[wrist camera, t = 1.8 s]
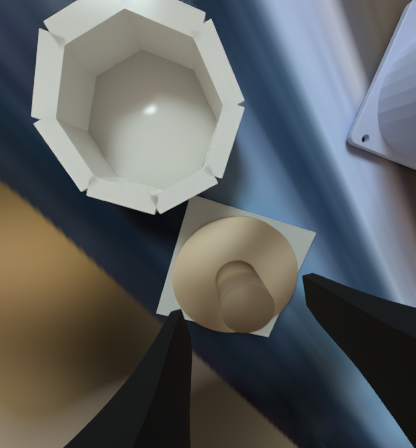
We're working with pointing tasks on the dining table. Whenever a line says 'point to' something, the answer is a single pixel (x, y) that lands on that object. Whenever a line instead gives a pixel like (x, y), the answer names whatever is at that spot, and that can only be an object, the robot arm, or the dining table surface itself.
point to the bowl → (136, 100)
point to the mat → (210, 210)
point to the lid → (234, 274)
